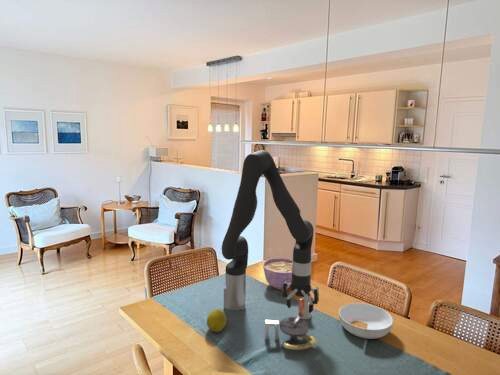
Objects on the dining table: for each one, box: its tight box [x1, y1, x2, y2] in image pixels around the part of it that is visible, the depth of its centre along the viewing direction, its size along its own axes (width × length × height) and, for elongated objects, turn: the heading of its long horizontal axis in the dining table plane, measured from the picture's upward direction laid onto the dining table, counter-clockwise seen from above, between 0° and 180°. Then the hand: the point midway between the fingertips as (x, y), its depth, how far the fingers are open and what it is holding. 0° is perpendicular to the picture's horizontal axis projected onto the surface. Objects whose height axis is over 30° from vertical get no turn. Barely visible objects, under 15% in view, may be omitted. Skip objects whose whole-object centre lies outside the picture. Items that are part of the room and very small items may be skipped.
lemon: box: [206, 308, 227, 333], centre depth 139 cm, size 11×8×8 cm
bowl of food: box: [262, 257, 293, 290], centre depth 178 cm, size 20×20×12 cm
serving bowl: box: [338, 302, 394, 340], centre depth 139 cm, size 21×21×7 cm
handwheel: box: [279, 297, 318, 350], centre depth 129 cm, size 18×15×13 cm
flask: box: [296, 297, 313, 320], centre depth 148 cm, size 7×7×10 cm
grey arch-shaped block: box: [264, 319, 280, 341], centre depth 131 cm, size 5×2×7 cm, turn 86°
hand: (299, 309), depth 137 cm, fingers open, 8 cm apart
